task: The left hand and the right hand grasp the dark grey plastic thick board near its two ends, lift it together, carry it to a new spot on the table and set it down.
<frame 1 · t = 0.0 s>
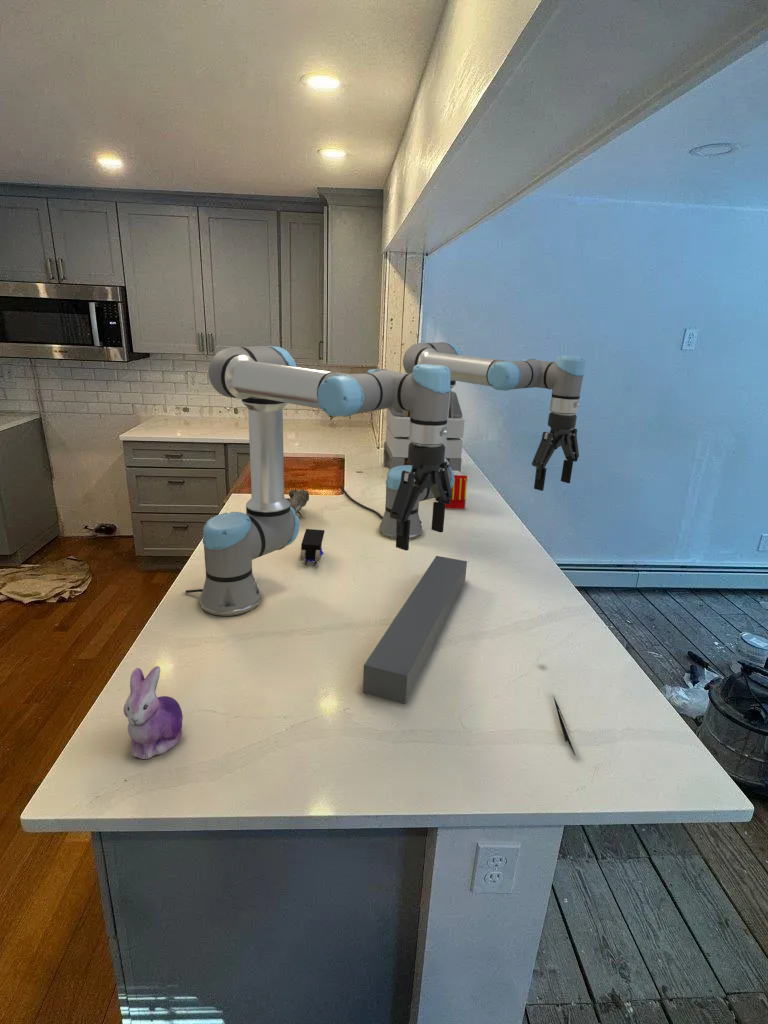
left hand: (420, 539, 123), 28 cm above the counter, tool pointing down, fingers open, 13 cm apart
right hand: (552, 485, 166), 28 cm above the counter, tool pointing down, fingers open, 13 cm apart
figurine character: (312, 559, 177), on the counter
figurine: (157, 742, 101), on the counter
white slatted crate: (419, 473, 275), on the counter
thick board: (422, 627, 142), on the counter
fossil: (292, 516, 212), on the counter
toy: (448, 498, 240), on the counter
feather: (556, 707, 115), on the counter
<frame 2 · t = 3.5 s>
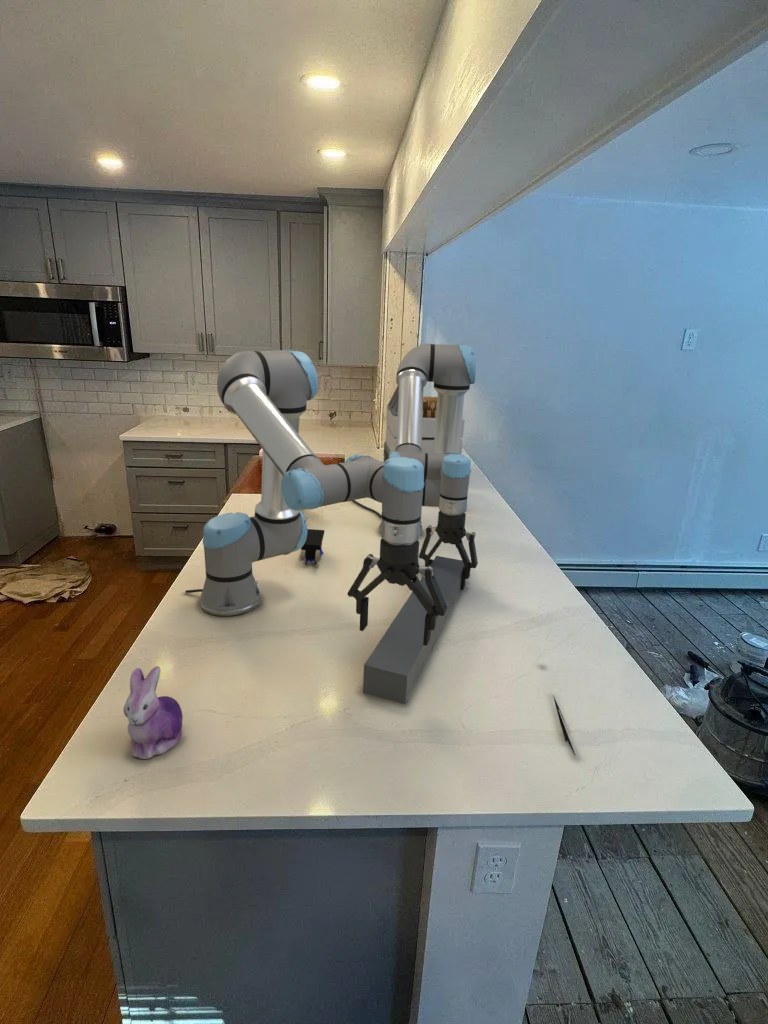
left hand: (394, 634, 116), 12 cm above the counter, tool pointing down, fingers open, 13 cm apart
right hand: (445, 584, 163), 1 cm above the counter, tool pointing down, fingers closed on thick board, 9 cm apart
thick board: (422, 627, 142), on the counter, touching right hand
everything else where it was.
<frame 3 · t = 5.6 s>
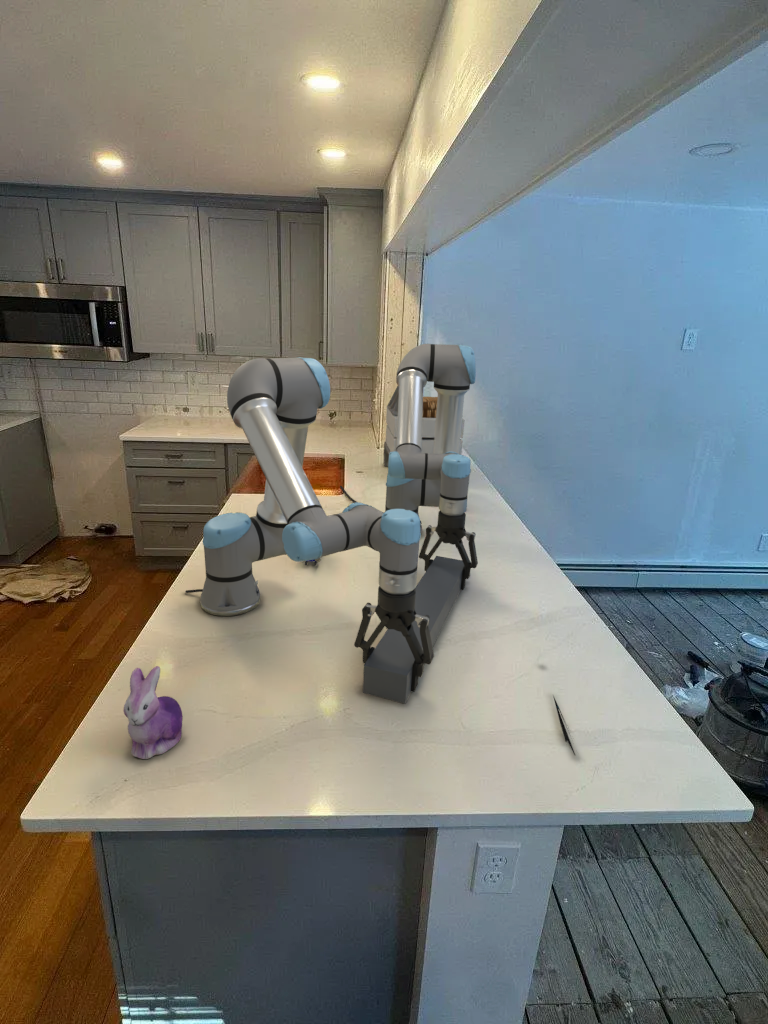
left hand: (391, 681, 120), 1 cm above the counter, tool pointing down, fingers closed on thick board, 9 cm apart
right hand: (445, 584, 163), 1 cm above the counter, tool pointing down, fingers closed on thick board, 9 cm apart
thick board: (422, 627, 142), on the counter, touching right hand, left hand
everything else where it was.
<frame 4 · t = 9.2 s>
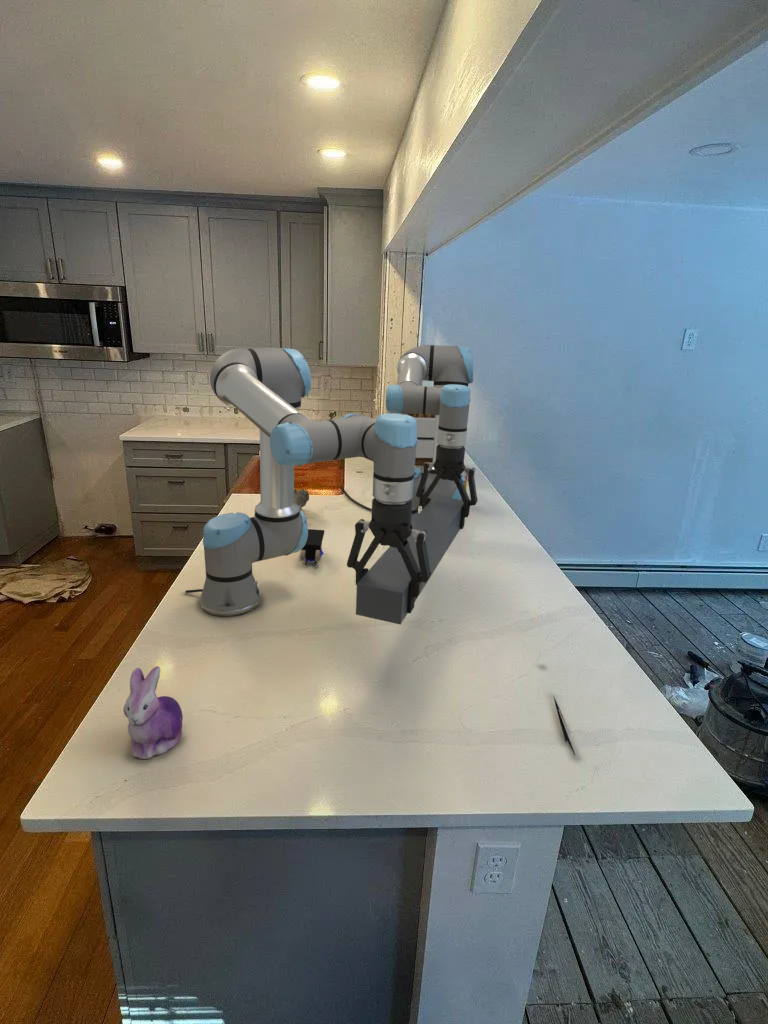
left hand: (386, 604, 113), 19 cm above the counter, tool pointing down, fingers closed on thick board, 9 cm apart
right hand: (444, 524, 157), 19 cm above the counter, tool pointing down, fingers closed on thick board, 9 cm apart
thick board: (419, 560, 135), point 19 cm above the counter, touching right hand, left hand
everything else where it was.
when the left hand's fingers open (2 cm above the counter, at t = 14.7 s): thick board stays where it is, on the counter.
when the right hand's fingers open (2 cm above the counter, at t = 14.7 s): thick board stays where it is, on the counter.
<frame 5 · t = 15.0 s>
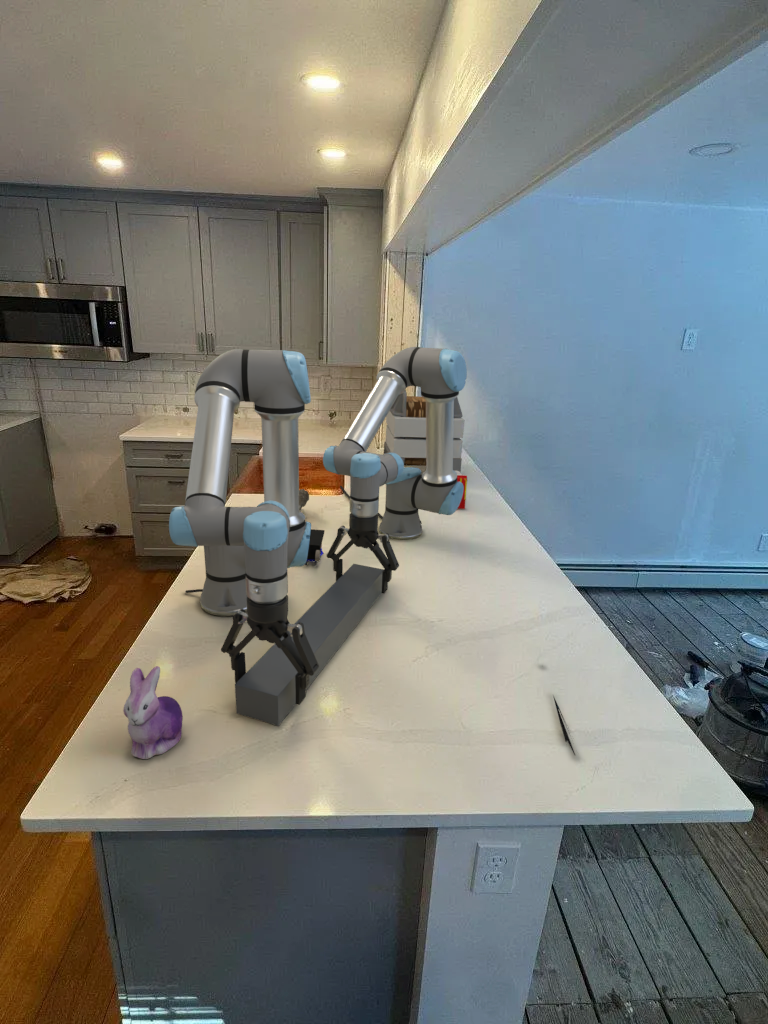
left hand: (270, 692, 111), 3 cm above the counter, tool pointing down, fingers open, 13 cm apart
right hand: (361, 586, 155), 3 cm above the counter, tool pointing down, fingers open, 13 cm apart
thick board: (323, 641, 134), on the counter
everything else where it was.
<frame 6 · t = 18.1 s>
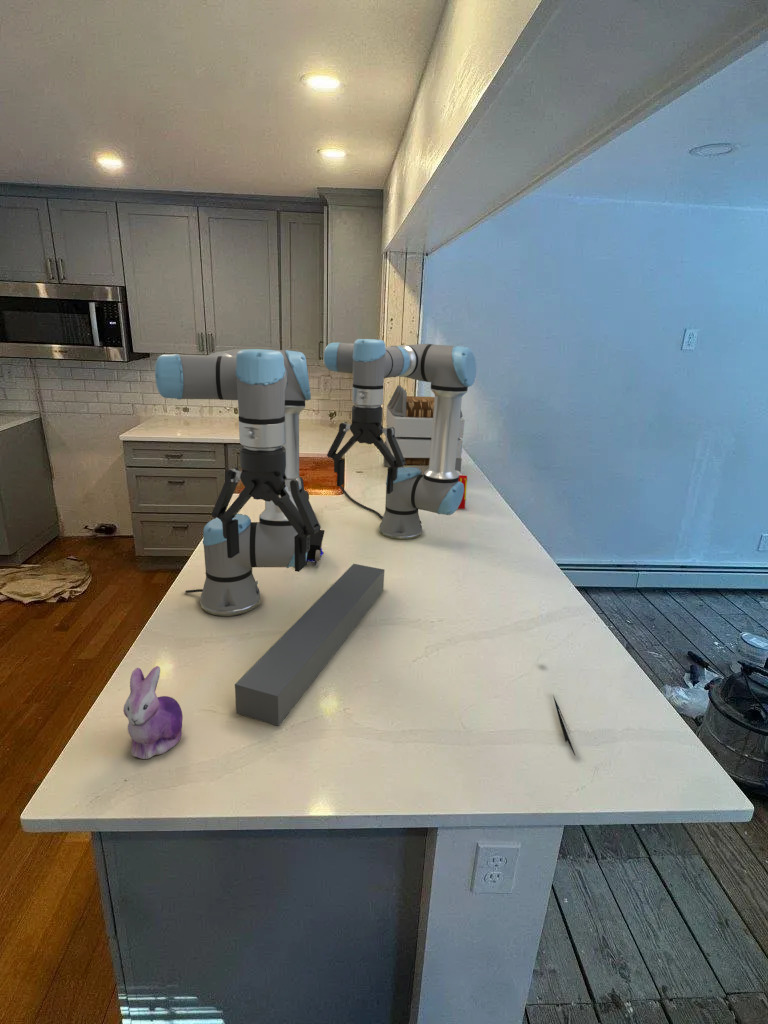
left hand: (266, 561, 102), 31 cm above the counter, tool pointing down, fingers open, 13 cm apart
right hand: (364, 488, 145), 31 cm above the counter, tool pointing down, fingers open, 13 cm apart
nothing on the counter moved.
at the end: thick board inside the target area (0.1 cm from its centre), on the counter; thick board tilted 0°; thick board never tilted more than 1° during the clip; both hands held the thick board at the same time; the left hand is holding nothing; the right hand is holding nothing; thick board at rest at the end (0.0 cm/s) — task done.
